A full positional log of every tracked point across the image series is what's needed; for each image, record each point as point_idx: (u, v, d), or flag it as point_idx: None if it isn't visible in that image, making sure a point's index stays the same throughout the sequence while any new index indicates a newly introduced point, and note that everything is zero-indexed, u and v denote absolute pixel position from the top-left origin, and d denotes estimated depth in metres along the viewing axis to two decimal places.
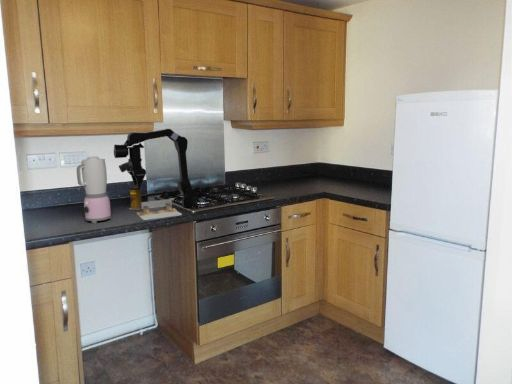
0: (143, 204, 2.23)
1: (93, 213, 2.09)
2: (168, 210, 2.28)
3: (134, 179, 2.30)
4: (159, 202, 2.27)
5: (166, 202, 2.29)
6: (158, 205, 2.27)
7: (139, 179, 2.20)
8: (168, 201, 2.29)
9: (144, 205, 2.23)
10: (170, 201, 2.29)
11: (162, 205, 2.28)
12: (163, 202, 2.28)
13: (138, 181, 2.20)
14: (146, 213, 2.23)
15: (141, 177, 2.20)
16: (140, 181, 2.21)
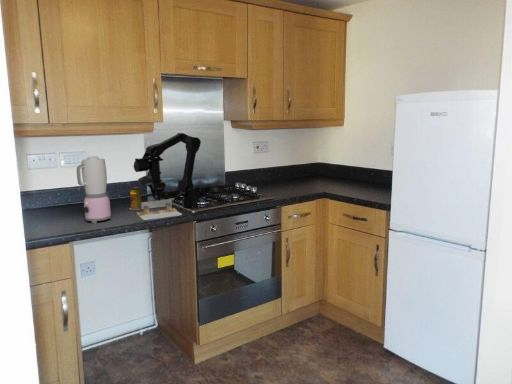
0: (143, 204, 2.23)
1: (93, 213, 2.09)
2: (168, 210, 2.28)
3: (153, 192, 2.31)
4: (159, 202, 2.27)
5: (166, 202, 2.29)
6: (158, 205, 2.27)
7: (159, 192, 2.21)
8: (168, 201, 2.29)
9: (144, 205, 2.23)
10: (170, 201, 2.29)
11: (162, 205, 2.28)
12: (163, 202, 2.28)
13: (158, 194, 2.21)
14: (146, 213, 2.23)
15: (161, 190, 2.21)
16: (160, 194, 2.22)
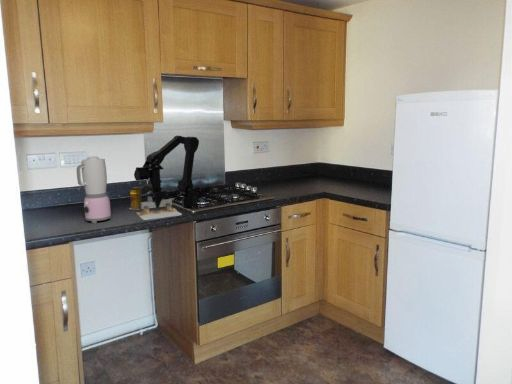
0: (143, 204, 2.23)
1: (93, 213, 2.09)
2: (168, 210, 2.28)
3: (155, 201, 2.29)
4: None
5: (166, 202, 2.29)
6: None
7: (157, 200, 2.25)
8: (168, 201, 2.29)
9: (144, 205, 2.23)
10: (170, 201, 2.29)
11: (162, 205, 2.28)
12: (163, 202, 2.28)
13: (156, 202, 2.25)
14: (146, 213, 2.23)
15: (159, 198, 2.25)
16: (158, 202, 2.25)
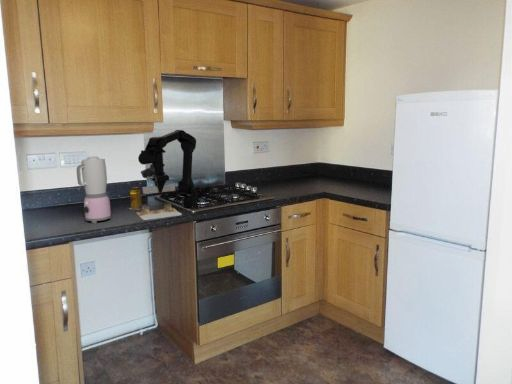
0: (145, 189, 2.15)
1: (93, 213, 2.09)
2: (168, 210, 2.28)
3: None
4: None
5: (169, 187, 2.20)
6: None
7: (160, 184, 2.17)
8: (171, 186, 2.21)
9: (146, 190, 2.15)
10: (173, 186, 2.21)
11: (165, 190, 2.20)
12: (166, 187, 2.20)
13: (159, 186, 2.17)
14: (146, 213, 2.23)
15: (162, 182, 2.17)
16: (161, 186, 2.17)
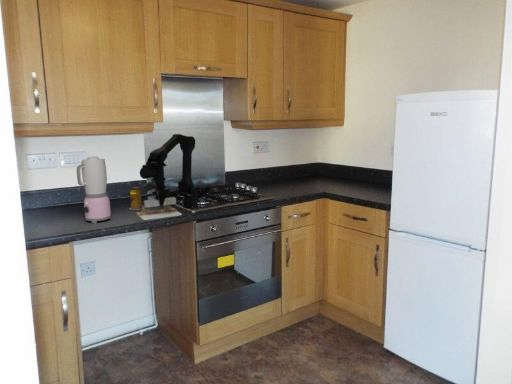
0: (146, 202, 2.16)
1: (93, 213, 2.09)
2: (168, 210, 2.28)
3: None
4: None
5: (170, 200, 2.22)
6: None
7: (161, 198, 2.18)
8: (172, 199, 2.22)
9: (147, 203, 2.16)
10: (174, 199, 2.23)
11: (166, 203, 2.21)
12: (167, 200, 2.21)
13: (160, 200, 2.18)
14: (146, 213, 2.23)
15: (163, 196, 2.18)
16: (162, 200, 2.18)
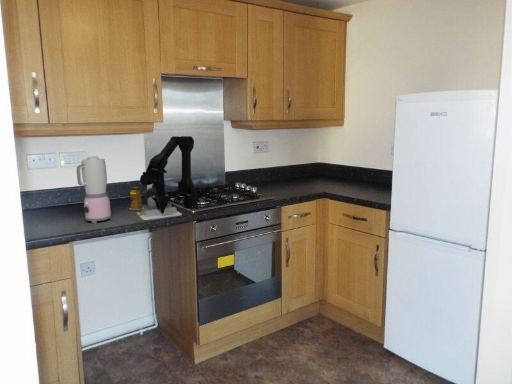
0: (147, 212, 2.17)
1: (93, 213, 2.09)
2: None
3: (158, 205, 2.24)
4: None
5: (170, 210, 2.23)
6: None
7: (162, 205, 2.17)
8: (172, 209, 2.23)
9: (148, 213, 2.17)
10: (174, 209, 2.24)
11: (166, 213, 2.22)
12: (167, 210, 2.22)
13: (161, 207, 2.17)
14: None
15: (164, 203, 2.17)
16: (163, 207, 2.18)
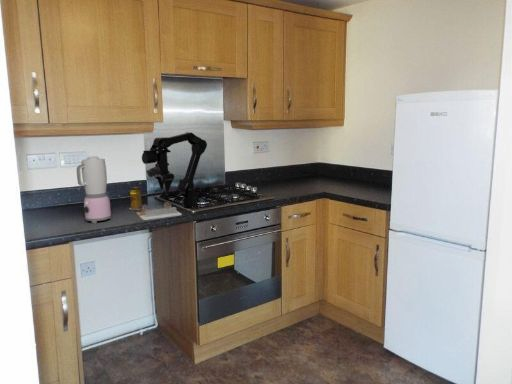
0: (147, 212, 2.17)
1: (93, 213, 2.09)
2: None
3: (160, 183, 2.32)
4: (163, 210, 2.21)
5: (170, 210, 2.23)
6: (162, 213, 2.21)
7: (167, 184, 2.23)
8: (172, 209, 2.23)
9: (148, 213, 2.17)
10: (174, 209, 2.24)
11: (166, 213, 2.22)
12: (167, 210, 2.22)
13: (166, 186, 2.23)
14: None
15: (169, 181, 2.23)
16: (168, 185, 2.24)
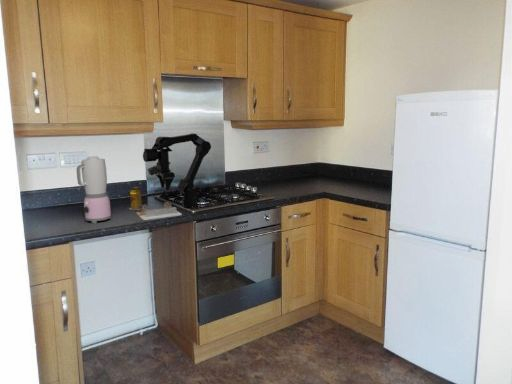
0: (147, 212, 2.17)
1: (93, 213, 2.09)
2: None
3: (162, 182, 2.35)
4: (163, 210, 2.21)
5: (170, 210, 2.23)
6: (162, 213, 2.21)
7: (167, 182, 2.26)
8: (172, 209, 2.23)
9: (148, 213, 2.17)
10: (174, 209, 2.24)
11: (166, 213, 2.22)
12: (167, 210, 2.22)
13: (167, 184, 2.26)
14: None
15: (169, 180, 2.26)
16: (168, 184, 2.26)
